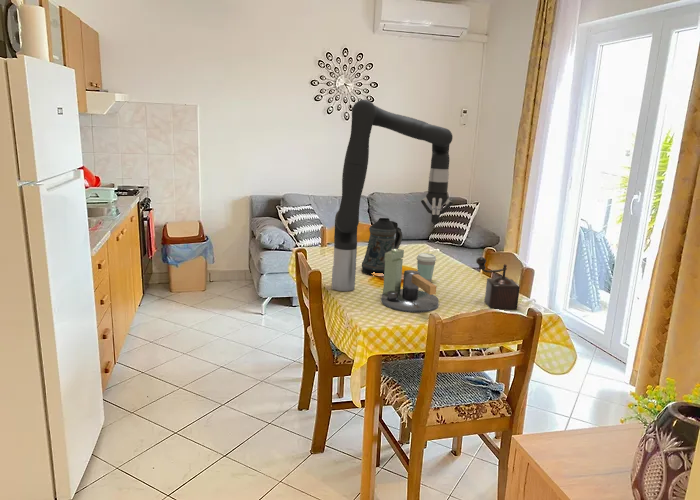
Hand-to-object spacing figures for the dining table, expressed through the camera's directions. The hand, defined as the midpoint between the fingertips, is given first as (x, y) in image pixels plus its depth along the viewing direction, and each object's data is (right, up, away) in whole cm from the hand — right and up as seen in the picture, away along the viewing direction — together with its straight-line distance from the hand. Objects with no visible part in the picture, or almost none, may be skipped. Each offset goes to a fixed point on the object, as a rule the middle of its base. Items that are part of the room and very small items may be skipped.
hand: (434, 223), depth 212 cm
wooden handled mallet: (-8, -30, -14) cm, 34 cm away
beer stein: (-20, -21, +36) cm, 46 cm away
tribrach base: (-11, -31, -6) cm, 33 cm away
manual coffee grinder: (+23, -32, -3) cm, 39 cm away
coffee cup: (-1, -24, +23) cm, 34 cm away
